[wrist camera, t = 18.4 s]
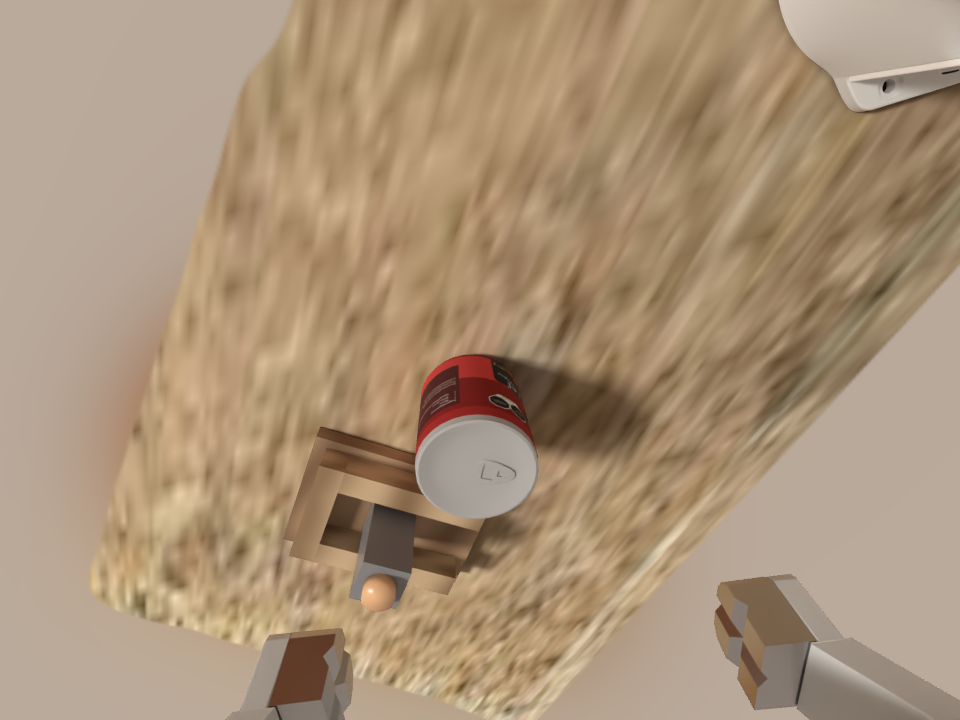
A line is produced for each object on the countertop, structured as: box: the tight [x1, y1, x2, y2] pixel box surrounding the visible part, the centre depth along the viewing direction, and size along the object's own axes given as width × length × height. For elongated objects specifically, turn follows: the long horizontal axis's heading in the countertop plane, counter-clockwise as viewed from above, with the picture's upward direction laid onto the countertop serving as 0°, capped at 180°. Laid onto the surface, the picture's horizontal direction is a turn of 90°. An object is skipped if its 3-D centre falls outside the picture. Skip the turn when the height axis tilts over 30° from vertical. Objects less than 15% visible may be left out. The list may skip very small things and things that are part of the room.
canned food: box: [415, 355, 539, 519], centre depth 39 cm, size 8×8×11 cm
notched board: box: [283, 427, 486, 595], centre depth 46 cm, size 16×11×4 cm
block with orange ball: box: [349, 503, 416, 612], centre depth 42 cm, size 4×4×9 cm
